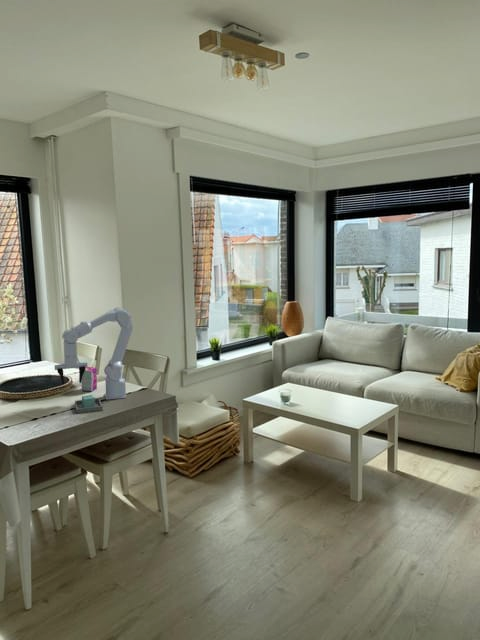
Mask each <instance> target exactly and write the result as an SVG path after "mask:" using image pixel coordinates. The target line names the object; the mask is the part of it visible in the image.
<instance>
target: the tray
mask: <svg viewBox="0 0 480 640" xmlns="http://www.w3.org/2000/svg"><path fill="white" fill-rule="evenodd" d="M74 407H75V411H76V412H75V413H76V414H83V413H84V414H85V413H91V412H92V413H93V412H100V411H104V410H103V404H102V402H101V398H99V397H98V398H95V407H87V408H84V407H83V406H82V399H81V400H80V399H79V400H74Z"/></svg>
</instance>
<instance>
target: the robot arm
mask: <svg viewBox="0 0 480 640" xmlns="http://www.w3.org/2000/svg"><path fill="white" fill-rule="evenodd" d="M108 322H113V323H116V322H117V323H118V325H119V326H120V328H121V329H120V330H119V331H120V332H119V335H118V337H117V341H116V344H115V347H114V351H113V353H112V356H111V358H110V360H109V361H108V363H107V365H105V367H104V370H103V371H104V374H105V375H106V377H105V393H104V394H103V395H104V398H105V400H115V399H116V400H117V399H124V398H127V391H126V380H125V378H123V377H122V373H123V372H122V369H123V363H122V362H123V359H124V356H125V353H126V351H127V347H128V345H129V341H130V338H131V336H132V332H133V329H134V327H133V323H132V316H131V315H130V314H129V312H128V311H127V310H125V309H123V308H121V307H119V306H118V307H115V308H113V309H110V310H109V311H106V312H105V313H103V314H101V315H100V316H98V317H96V318H94V319H93V320H91V321H81V322H79V323H80V324H78V325H76V326H72V327H71V328H70V329H66V330H64V331H63V333H62V335H61V336H62V339H63V355H64V356H63V357H64V363H60V364H54V370H55V371H57V373H58V375H59V377H60V380H61V382H62V383H61V384H62V385H65V380H64V370H66V369H78V372H79V377H78V381H79V382H78V383H79V384H82V376H83V374H84V372H85V368H86V367H88V362H78V345H77V341H78V340H79V339H81V338H83V337H84V336H87V335H88V334H90V333H92V332H93V329H95V328H96V327H99V326H101V325H103V324H105V323H108Z"/></svg>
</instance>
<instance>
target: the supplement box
mask: <svg viewBox="0 0 480 640" xmlns="http://www.w3.org/2000/svg"><path fill="white" fill-rule="evenodd" d="M97 371H98V368H97V367H92V366H87V367H86V368H85V372H84V374H83V376H82V381H81V392H87V393H92V392H94V391H95V390H97V388H98V385H97V384H98V382H97V381H98V375H97V374H98V372H97Z"/></svg>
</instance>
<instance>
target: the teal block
mask: <svg viewBox="0 0 480 640" xmlns="http://www.w3.org/2000/svg"><path fill="white" fill-rule="evenodd" d="M95 399H96V398H95V396H93V395H92V394H89V395H83V396H81V400H82V406H83V407H84V408H87V407H95Z"/></svg>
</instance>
